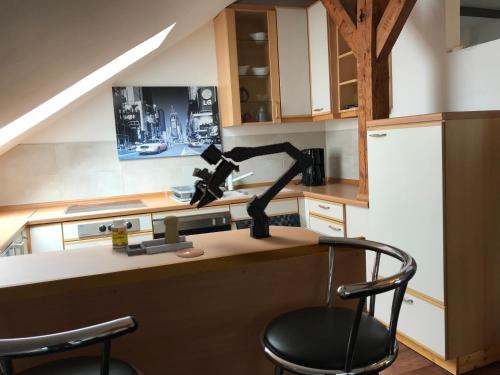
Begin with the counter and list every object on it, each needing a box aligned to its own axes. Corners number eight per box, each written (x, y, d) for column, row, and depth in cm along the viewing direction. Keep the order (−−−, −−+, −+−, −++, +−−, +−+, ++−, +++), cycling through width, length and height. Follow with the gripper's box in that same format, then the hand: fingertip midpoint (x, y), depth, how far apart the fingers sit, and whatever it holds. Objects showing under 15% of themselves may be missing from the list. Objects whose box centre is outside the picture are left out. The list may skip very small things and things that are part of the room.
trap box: (142, 247, 150) (142, 243, 150) (146, 253, 141) (146, 248, 141) (125, 249, 147) (124, 245, 147) (128, 255, 139) (128, 251, 139)
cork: (179, 248, 146) (177, 217, 145) (162, 248, 147) (160, 218, 145) (182, 243, 152) (180, 214, 151) (166, 244, 153) (164, 214, 151)
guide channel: (185, 240, 157) (184, 235, 157) (192, 247, 147) (192, 241, 146) (141, 246, 151) (141, 241, 150) (147, 253, 141) (146, 248, 140)
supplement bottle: (110, 249, 149) (108, 221, 148) (115, 245, 155) (112, 218, 153) (126, 248, 149) (124, 220, 148) (130, 244, 155) (128, 217, 154)
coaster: (199, 248, 145) (199, 246, 144) (207, 254, 136) (207, 252, 136) (173, 252, 141) (173, 250, 141) (180, 258, 133) (180, 257, 133)
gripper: (197, 158, 160) (171, 189, 157) (213, 160, 143) (183, 195, 140) (218, 177, 164) (192, 208, 161) (235, 181, 147) (207, 215, 144)
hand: (193, 206), depth 151 cm, fingers open, 9 cm apart
